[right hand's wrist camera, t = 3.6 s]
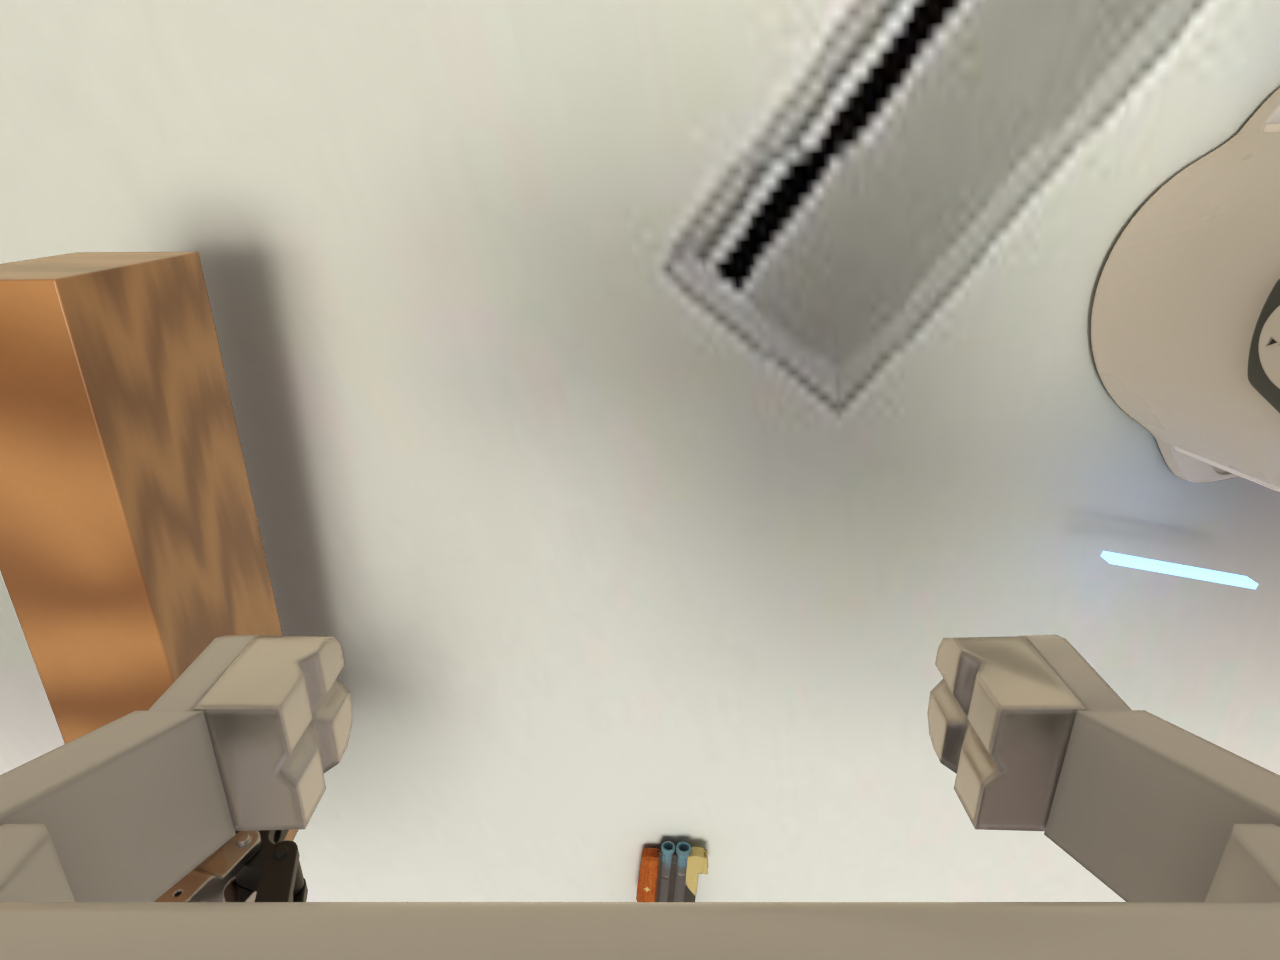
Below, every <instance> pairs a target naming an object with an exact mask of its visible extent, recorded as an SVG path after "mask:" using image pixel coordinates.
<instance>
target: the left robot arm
mask: <svg viewBox="0 0 1280 960" xmlns="http://www.w3.org/2000/svg"><path fill="white" fill-rule="evenodd" d="M288 831H289V830H256V831H235V833H236V834H235V836H233V837H232V838H231V839H230V840H229V841H227V842H226V843H225V844H224V845H223V846H222V847H221V848H220V849H219V850H218V851H217V852H216V853H215V854H214V855H213V856H212V857H211V858H210V859H209V860H208V861H207V862H206V863H205V864H204V865H203V866H202V867H200V868H198V869H196V868H194V869H193V870H192V871H191V872H189V873H188V874H187V875H186V876H185V877H183V878H182V879H181V880H180V881H179V882H177V883H176V884H175V885H174V886H172V887H171V888H170V889H169V890H168V891H166V892H165V893H164V894H163V895H161V896H160V897H159V898H158V899H157V900H155V901H154V902H254V901H255V902H306V899H307V892H308V890H307V885H306V881H305V879H304V878H303V874H302V870H301V866H300V862H299V852H298V848H297V845H296V843H295V842H293V841H289V840H286V841H284V839H285V837H286V835H287V833H288ZM234 877H235V879H234V880H233V881H232V882H231V883H230V884H229V885H228V886H227V884H228V883H229V882H230V881H231V880H232V879H233V878H234ZM226 886H227V887H226ZM225 887H226V888H225Z"/></svg>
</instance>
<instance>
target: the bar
mask: <svg viewBox="0 0 1280 960" xmlns="http://www.w3.org/2000/svg"><path fill="white" fill-rule="evenodd" d="M0 570H1V573H2V576H3V578H4V581H5V584H6V587H7V589H8V592H9V595H10V597H11V600H12V603H13V605H14V608H15V611H16V613H17V616H18V619H19V621H20V624H21V627H22V629H23V632H24V635H25V637H26V640H27V643H28V646H29V648H30V651H31V654H32V656H33V659H34V662H35V664H36V667H37V670H38V672H39V675H40V678H41V680H42V683H43V686H44V688H45V691H46V694H47V696H48V699H49V702H50V705H51V707H52V710H53V713H54V715H55V718H56V721H57V723H58V726H59V729H60V731H61V734H62V737H63V739H64V742H65V744H67V743H69V742H71V741H73V740H75V739H77V738H79V737H82V736H84V735H86V734H88V733H90V732H92V731H94V730H96V729H98V728H100V727H102V726H104V725H107V724H109V723H111V722H113V721H115V720H117V719H119V718H121V717H123V716H125V715H127V714H129V713H132V712H134V711H148V710H149V709H150V708H151V707H152V706H153V704H154V703H155V702H156V701H157V700H158V699H159V698H160V697H161V696H162V695H163V694H164V693H165V692H166V690H167V689H168V688H169V687H170V686H171V685H172V684H173V683H174V682H175V681H176V680H177V679H178V678H179V677H180V675H181V674H182V673H183V672H184V671H185V670H186V669H187V668H188V667H189V666H190V665H191V664H192V663H193V661H194V660H195V659H196V658H197V657H198V656H199V655H200V654H201V653H202V652H203V651H204V650H205V649H206V647H207V646H208V645H209V644H210V643H211V642H212V641H213V640H214V639H215V638H217V637H221V636H225V635H258V636H262V635H267V636H283V635H282V631H281V626H280V622H279V617H278V612H277V608H276V603H275V599H274V594H273V590H272V585H271V580H270V576H269V571H268V567H267V562H266V558H265V553H264V549H263V544H262V539H261V535H260V530H259V526H258V521H257V517H256V512H255V508H254V503H253V498H252V494H251V489H250V485H249V480H248V476H247V471H246V466H245V462H244V457H243V453H242V448H241V444H240V439H239V435H238V430H237V425H236V421H235V416H234V412H233V407H232V403H231V398H230V394H229V389H228V384H227V380H226V375H225V371H224V366H223V362H222V357H221V352H220V348H219V343H218V339H217V334H216V330H215V325H214V321H213V316H212V311H211V307H210V302H209V298H208V293H207V289H206V284H205V280H204V275H203V270H202V266H201V261H200V257H199V253H198V252H82V253H70V254H64V255H57V256H50V257H44V258H37V259H31V260H24V261H18V262H11V263H4V264H0ZM298 830H299V829H291V830H289V831H288V833H287V835H286V837H285V839H284V841H286V840H289V841H293V840H294V838H295V836H296V834H297V832H298ZM222 846H223V845H222ZM222 846H221V847H222ZM221 847H220V848H221ZM220 848H219V849H220ZM219 849H218V850H219ZM218 850H216V851H215V852H214V853H213V854H211V855H210V856H209V857H208V858H207V859H205V860H204V861H203V862H202V863H200V864H199V865H198V866H197V867H196V869H198V868H200V867H202V866H203V865H204V864H205V863H206V862H207V861H208V860H209V859H210V858H211V857H212V856H213V855H214V854H215V853H216V852H217V851H218ZM234 879H235V877H234V878H233V879H232V880H231V881H230V882H229V883H228V884H227V886H228V885H229V884H230V883H231V882H232V881H233V880H234ZM227 886H226V887H227ZM226 887H225V888H226ZM254 902H255V901H254Z"/></svg>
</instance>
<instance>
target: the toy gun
mask: <svg viewBox="0 0 1280 960" xmlns="http://www.w3.org/2000/svg"><path fill="white" fill-rule="evenodd" d="M699 873H701V874H708V858H707V851H706V850H704V848H702V847H691V846H690V844H689V843H687V842H679V843H678V844H677V846H676V847H675V844H674V843H673V842H671V841H665V842H663V843H662V845H660V849H656V848H645V849H643V852H642V858H641V865H640V872H639V880H638V888H637V902H695V896H696V890H697V882H698V874H699Z"/></svg>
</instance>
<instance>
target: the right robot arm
mask: <svg viewBox="0 0 1280 960" xmlns="http://www.w3.org/2000/svg"><path fill="white" fill-rule="evenodd" d="M1091 344H1092V352H1093V357H1094V361H1095V365H1096V368H1097V371H1098V374H1099V376H1100V379H1101V381H1102V383H1103V385H1104V387H1105V388H1106V390H1107V391H1108V393H1109V395H1110V396H1111V397H1112V399H1113V400H1114V401H1115V403H1116V404H1117V405H1118V406H1119V407H1120V408H1121V409H1122V410H1123V411H1124V412H1125V413H1126V414H1128V415H1129V416H1130V417H1131V418H1133V419H1134V420H1135V421H1137V422H1138V423H1139V424H1141V425H1142V426H1143V427H1145V428H1146V429H1147V430H1148V431H1149V432H1150V433H1151V434H1152V435H1153V436H1154V437H1155V438H1156V441H1157V444H1158V446H1159V449H1160V451H1161V453H1162V456H1163V458H1164V460H1165V462H1166V464H1167V466H1168V467H1169V469H1170V470H1171V471H1172V473H1173V474H1175V475H1176V476H1178V477H1180V478H1182V479H1185V480H1188V481H1190V482H1193V483H1207V482H1213V481H1219V480H1224V479H1230V478H1236V477H1242V478H1245V479H1247V480H1250V481H1252V482H1255V483H1257V484H1260V485H1262V486H1265V487H1267V488H1270V489H1272V490H1275V491H1277V492H1280V88H1279V89H1277V90H1276V91H1275V92H1274V93H1273V94H1272V95H1271V96H1270V97H1269V98H1268V99H1267V100H1266V101H1265V102H1264V103H1263V104H1262V106H1261V107H1260V108H1259V109H1258V110H1257V111H1256V112H1255V114H1254V115H1253V116H1252V117H1251V118H1250V119H1249V121H1248V122H1247V123H1246V124H1245V125H1244V127H1243V128H1242V129H1241V130H1240V131H1239V133H1238V134H1236V135H1235V136H1234V137H1233V138H1231V139H1230V140H1229V141H1228V142H1226V143H1225V144H1223V145H1222V146H1220V147H1219V148H1217V149H1216V150H1214V151H1212V152H1211V153H1209V154H1207V155H1206V156H1204V157H1202V158H1201V159H1199V160H1197V161H1196V162H1194V163H1192V164H1191V165H1189V166H1188V167H1187V168H1185V169H1184V170H1182V171H1181V172H1179V173H1178V174H1177V175H1175V176H1174V177H1173V178H1172V179H1170V180H1169V181H1168V182H1167V183H1166V184H1165V185H1163V186H1162V187H1161V188H1160V189H1159V190H1158V191H1157V192H1156V193H1155V194H1154V195H1153V196H1152V197H1151V198H1150V199H1149V200H1148V201H1147V202H1146V203H1145V204H1144V205H1143V206H1142V207H1141V209H1140V210H1139V211H1138V212H1137V213H1136V215H1135V216H1134V217H1133V218H1132V220H1131V221H1130V222H1129V224H1128V225H1127V227H1126V228H1125V229H1124V231H1123V232H1122V234H1121V236H1120V237H1119V239H1118V240H1117V242H1116V244H1115V246H1114V247H1113V249H1112V251H1111V253H1110V255H1109V257H1108V259H1107V261H1106V264H1105V266H1104V269H1103V271H1102V274H1101V276H1100V279H1099V282H1098V286H1097V289H1096V293H1095V297H1094V302H1093V308H1092V316H1091ZM1101 557H1102V558H1104V559H1105V560H1106V561H1107V562H1108V563H1110V564H1114V565H1120V566H1126V567H1131V568H1137V569H1143V570H1148V571H1154V572H1160V573H1165V574H1171V575H1177V576H1182V577H1188V578H1194V579H1199V580H1205V581H1211V582H1216V583H1222V584H1228V585H1233V586H1239V587H1245V588H1250V589H1256V588H1257V586H1258V584H1257V583H1256V582H1254V581H1253V580H1251V579H1250V578H1248V577H1247V576H1242V575H1237V574H1231V573H1225V572H1220V571H1214V570H1208V569H1203V568H1197V567H1192V566H1186V565H1180V564H1175V563H1169V562H1163V561H1158V560H1152V559H1147V558H1141V557H1135V556H1130V555H1124V554H1118V553H1113V552H1107V551H1103V552H1102V554H1101ZM344 665H345V663H344V658H343V653H342V649H341V644H340V642H338V641H337V640H336V639H335V638H334V637H316V636H267V635H262V636H258V635H225V636H221V637H217V638H215V639H214V640H213V641H212V642H211V643H210V644H209V645H208V646H207V647H206V649H205V650H204V651H203V652H202V653H201V654H200V655H199V656H198V657H197V658H196V659H195V660H194V661H193V663H192V664H191V665H190V666H189V667H188V668H187V669H186V670H185V671H184V672H183V673H182V674H181V675H180V677H179V678H178V679H177V680H176V681H175V682H174V683H173V684H172V685H171V686H170V687H169V688H168V689H167V690H166V692H165V693H164V694H163V695H162V696H161V697H160V698H159V699H158V700H157V701H156V702H155V703H154V704H153V706H152V707H151V708H150V709H149V710H148V711H134V712H132V713H129V714H127V715H125V716H123V717H121V718H119V719H117V720H115V721H113V722H111V723H109V724H107V725H104V726H102V727H100V728H98V729H96V730H94V731H92V732H90V733H88V734H86V735H84V736H82V737H79V738H77V739H75V740H73V741H71V742H69V743H67V744H65V745H63V746H61V747H59V748H57V749H54V750H52V751H50V752H48V753H46V754H44V755H42V756H40V757H38V758H36V759H34V760H32V761H29V762H27V763H25V764H23V765H21V766H19V767H17V768H15V769H13V770H11V771H9V772H7V773H4V774H2V775H0V960H1280V776H1279V775H1277V774H1275V773H1273V772H1271V771H1269V770H1267V769H1265V768H1263V767H1261V766H1259V765H1256V764H1254V763H1252V762H1250V761H1248V760H1246V759H1244V758H1242V757H1240V756H1238V755H1236V754H1234V753H1232V752H1229V751H1227V750H1225V749H1223V748H1221V747H1219V746H1217V745H1215V744H1213V743H1211V742H1209V741H1207V740H1205V739H1202V738H1200V737H1198V736H1196V735H1194V734H1192V733H1190V732H1188V731H1186V730H1184V729H1182V728H1180V727H1178V726H1175V725H1173V724H1171V723H1169V722H1167V721H1165V720H1163V719H1161V718H1159V717H1157V716H1155V715H1153V714H1151V713H1148V712H1146V711H1132V710H1131V709H1130V708H1129V707H1128V705H1127V704H1126V703H1125V702H1124V701H1123V700H1122V699H1121V698H1120V697H1119V696H1118V695H1117V694H1116V693H1115V692H1114V690H1113V689H1112V688H1111V687H1110V686H1109V685H1108V684H1107V683H1106V682H1105V681H1104V680H1103V679H1102V678H1101V676H1100V675H1099V674H1098V673H1097V672H1096V671H1095V670H1094V669H1093V668H1092V667H1091V666H1090V665H1089V664H1088V662H1087V661H1086V660H1085V659H1084V658H1083V657H1082V656H1081V655H1080V654H1079V653H1078V652H1077V651H1076V650H1075V648H1074V647H1073V646H1072V645H1071V644H1070V643H1069V642H1068V641H1067V640H1066V639H1065V638H1062V637H1060V636H1058V635H1032V636H1018V637H968V638H943V640H942V642H941V644H940V646H939V648H938V652H937V657H936V663H935V665H936V666H937V668H938V670H939V671H940V673H941V675H942V676H943V678H944V679H943V680H942V681H941V682H940V683H939V684H938V685H937V686H936V687H935V688H934V689H933V690H932V691H931V692H930V698H929V706H928V723H929V734H930V737H931V741H932V744H933V747H934V750H935V752H936V754H937V756H938V758H939V760H940V762H941V763H942V764H943V765H945V766H946V767H948V768H949V769H951V770H952V771H954V772H955V773H956V774H957V775H956V780H955V786H954V789H955V791H956V793H957V795H958V797H959V799H960V801H961V803H962V805H963V807H964V809H965V810H966V812H967V814H968V816H969V818H970V820H971V822H972V824H973V826H974V828H975V829H987V830H1023V831H1045V833H1044V834H1045V835H1046V836H1047V837H1048V838H1049V839H1051V840H1052V841H1053V842H1054V843H1055V844H1057V845H1058V846H1059V847H1060V848H1062V849H1063V850H1064V851H1065V852H1066V853H1068V854H1069V855H1070V856H1071V857H1073V858H1074V859H1075V860H1076V861H1077V862H1079V863H1080V864H1081V865H1082V866H1083V867H1085V868H1086V869H1087V870H1088V871H1090V872H1091V873H1092V874H1093V875H1094V876H1096V877H1097V878H1098V879H1099V880H1101V881H1102V882H1103V883H1104V884H1105V885H1107V886H1108V887H1109V888H1110V889H1111V890H1113V891H1114V892H1115V893H1116V894H1118V895H1119V896H1120V897H1121V898H1122V899H1124V900H1125V901H1126V902H154V901H155V900H157V899H158V898H159V897H160V896H161V895H163V894H164V893H165V892H166V891H168V890H169V889H170V888H171V887H172V886H174V885H175V884H176V883H177V882H179V881H180V880H181V879H182V878H183V877H185V876H186V875H187V874H188V873H189V872H191V871H192V870H193V869H194V868H196V867H197V866H198V865H199V864H200V863H202V862H203V861H204V860H205V859H207V858H208V857H209V856H210V855H211V854H213V853H214V852H215V851H216V850H218V849H219V848H220V847H221V846H222V845H224V844H225V843H226V842H227V841H229V840H230V839H231V838H232V837H233V836H235V834H236V833H235V831H256V830H291V829H305V828H306V826H307V824H308V822H309V820H310V818H311V816H312V814H313V812H314V811H315V809H316V807H317V805H318V803H319V801H320V799H321V797H322V795H323V793H324V791H325V789H326V786H325V780H324V775H323V774H324V773H325V772H326V771H328V770H329V769H331V768H332V767H334V766H335V765H337V764H338V763H339V762H340V760H341V758H342V756H343V754H344V752H345V750H346V748H347V745H348V740H349V736H350V731H351V727H352V704H351V697H350V692H349V691H348V690H347V689H346V688H345V687H344V686H343V685H342V684H341V683H340V682H339V681H338V680H337V679H336V678H337V676H338V675H339V673H340V671H341V670H342V668H343V666H344Z"/></svg>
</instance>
